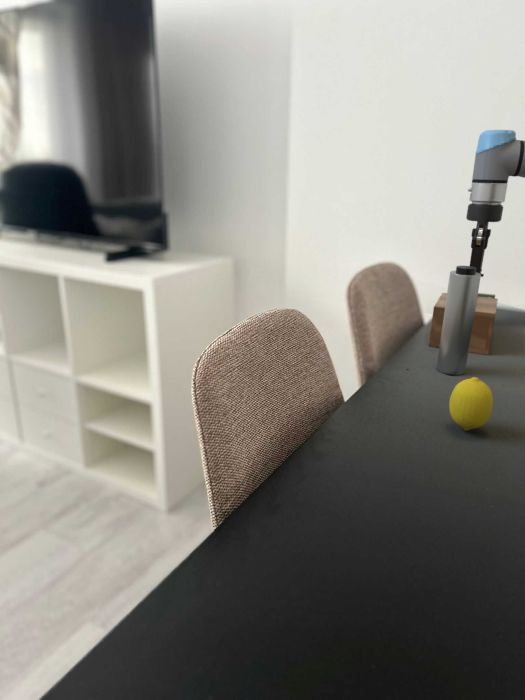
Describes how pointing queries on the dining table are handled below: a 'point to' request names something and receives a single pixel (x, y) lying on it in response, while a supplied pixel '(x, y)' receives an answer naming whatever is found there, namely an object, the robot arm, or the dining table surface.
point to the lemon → (471, 403)
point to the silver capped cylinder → (458, 320)
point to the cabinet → (480, 324)
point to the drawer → (486, 295)
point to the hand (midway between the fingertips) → (469, 303)
